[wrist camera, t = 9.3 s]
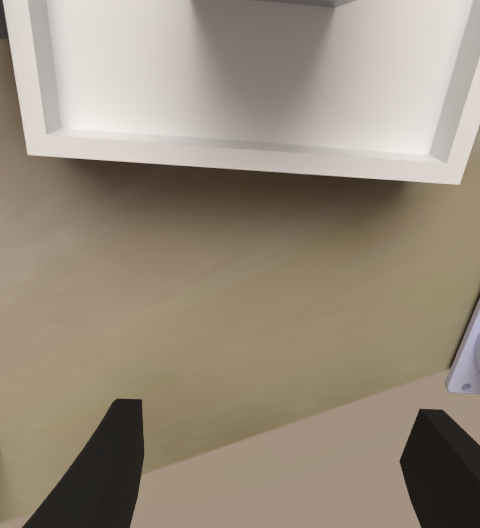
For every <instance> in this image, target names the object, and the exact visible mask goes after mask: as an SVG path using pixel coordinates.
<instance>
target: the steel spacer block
mask: <svg viewBox="0 0 480 528" xmlns="http://www.w3.org/2000/svg"><path fill="white" fill-rule="evenodd" d="M255 1H266V2H277V3H289V4H300V5H311V6H322V7H333V8H336V7H339V6H342V5H345V4H348V3H350V2H353V1H356V0H255Z"/></svg>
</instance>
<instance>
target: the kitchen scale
mask: <svg viewBox="0 0 480 528" xmlns="http://www.w3.org/2000/svg"><path fill="white" fill-rule="evenodd" d="M0 38H3V39H9V42H10V48H11V55H12V61H13V67H14V73H15V79H16V86H17V92H18V98H19V104H20V110H21V117H22V123H23V129H24V135H25V141H26V148H27V154H28V155H34V156H49V157H63V158H78V159H93V160H107V161H122V162H136V163H151V164H166V165H180V166H195V167H209V168H224V169H238V170H253V171H268V172H282V173H297V174H311V175H326V176H341V177H355V178H370V179H384V180H399V181H414V182H428V183H443V184H457V185H460V182H461V179H462V176H463V173H464V170H465V167H466V164H467V161H468V158H469V155H470V152H471V149H472V146H473V143H474V140H475V137H476V134H477V131H478V128H479V125H480V0H356V1H353V2H350V3H348V4H345V5H342V6H339V7H336V8H333V7H322V6H311V5H300V4H289V3H277V2H266V1H255V0H0Z"/></svg>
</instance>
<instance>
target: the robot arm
mask: <svg viewBox="0 0 480 528" xmlns="http://www.w3.org/2000/svg"><path fill="white" fill-rule="evenodd" d="M464 384H465V385H464ZM445 386H446V388H447V389H448V391H450V392H451V393H467V394H468V393H469V394H480V298H479V301H478V303H477V306H476V308H475V311H474V313H473V315H472V318H471V320H470V323H469V325H468V328H467V330H466V333H465V335H464V337H463V340H462V342H461V345H460V347H459V350H458V352H457V354H456V357H455V359H454V362H453V364H452V367H451V369H450V372H449V374H448V376H447V379H446V381H445ZM143 459H144V438H143V416H142V400H141V399H116V400H115V401H113V403H112V404H111V406H110V408H109V410H108V411H107V413H106V415H105V416H104V418H103V420H102V421H101V423H100V424H99V426H98V427H97V429H96V430H95V432H94V434H93V435H92V436H91V438H90V439H89V441H88V442H87V444H86V445H85V447H84V448H83V450H82V451H81V452H80V454H79V455H78V457H77V458H76V459H75V461H74V462H73V464H72V465H71V466H70V468H69V469H68V470H67V472H66V473H65V475H64V476H63V477H62V479H61V480H60V481H59V483H58V484H57V485H56V486H55V488H54V489H53V490H52V491H51V493H50V494H49V495H48V496H47V498H46V499H45V500H44V501H43V503H42V504H41V505H40V506H39V508H38V509H37V510H36V512H35V513H34V514H33V515H32V516H31V518H30V519H29V520H28V521H27V522H26V524H25V525H24V526H23V527H22V528H130V524H131V520H132V516H133V512H134V509H135V504H136V501H137V497H138V491H139V484H140V478H141V472H142V466H143ZM400 464H401V468H402V471H403V475H404V479H405V483H406V486H407V490H408V493H409V496H410V500H411V503H412V505H413V508H414V510H415V513H416V515H417V518H418V520H419V522H420V525H421V528H480V445H478V444H477V442H476V441H475V440H473V439H472V438H471V437H470V436H469V435H468V434H467V433H466V432H465V431H464V430H463V429H462V428H461V427H460V426H459V425H458V424H457V423H456V422H455V421H454V420H453V419H452V418H451V417H450V416H449V415H447V414H446V413H445V412H444V411H443V410H433V409H420V410H419V412H418V415H417V417H416V420H415V423H414V425H413V428H412V430H411V433H410V436H409V438H408V441H407V443H406V446H405V448H404V451H403V454H402V456H401V459H400Z"/></svg>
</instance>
